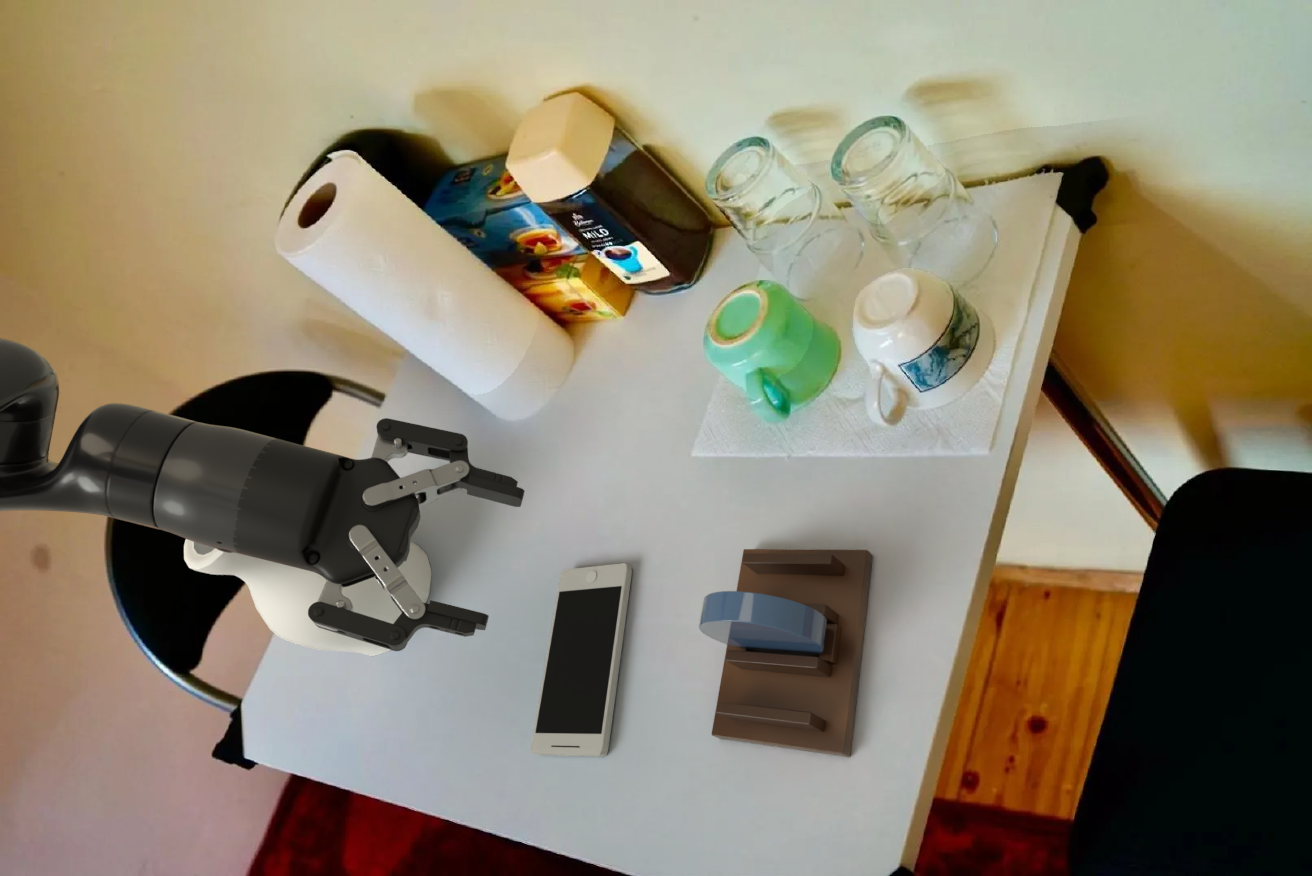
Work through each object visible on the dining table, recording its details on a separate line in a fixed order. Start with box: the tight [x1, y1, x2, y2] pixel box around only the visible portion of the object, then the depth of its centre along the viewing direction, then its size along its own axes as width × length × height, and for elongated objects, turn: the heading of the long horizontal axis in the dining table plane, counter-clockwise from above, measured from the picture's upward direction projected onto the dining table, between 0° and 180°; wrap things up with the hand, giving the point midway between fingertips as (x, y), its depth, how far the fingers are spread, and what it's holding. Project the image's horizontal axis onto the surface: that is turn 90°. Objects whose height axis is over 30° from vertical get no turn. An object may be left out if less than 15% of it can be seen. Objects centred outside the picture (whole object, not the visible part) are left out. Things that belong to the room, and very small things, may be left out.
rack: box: [711, 548, 874, 758], centre depth 63 cm, size 14×10×4 cm
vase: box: [183, 539, 432, 657], centre depth 84 cm, size 14×14×20 cm
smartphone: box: [530, 562, 633, 758], centre depth 73 cm, size 7×16×1 cm, turn 172°
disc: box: [698, 590, 827, 656], centre depth 60 cm, size 2×8×8 cm, turn 76°
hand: (505, 558), depth 58 cm, fingers open, 8 cm apart
